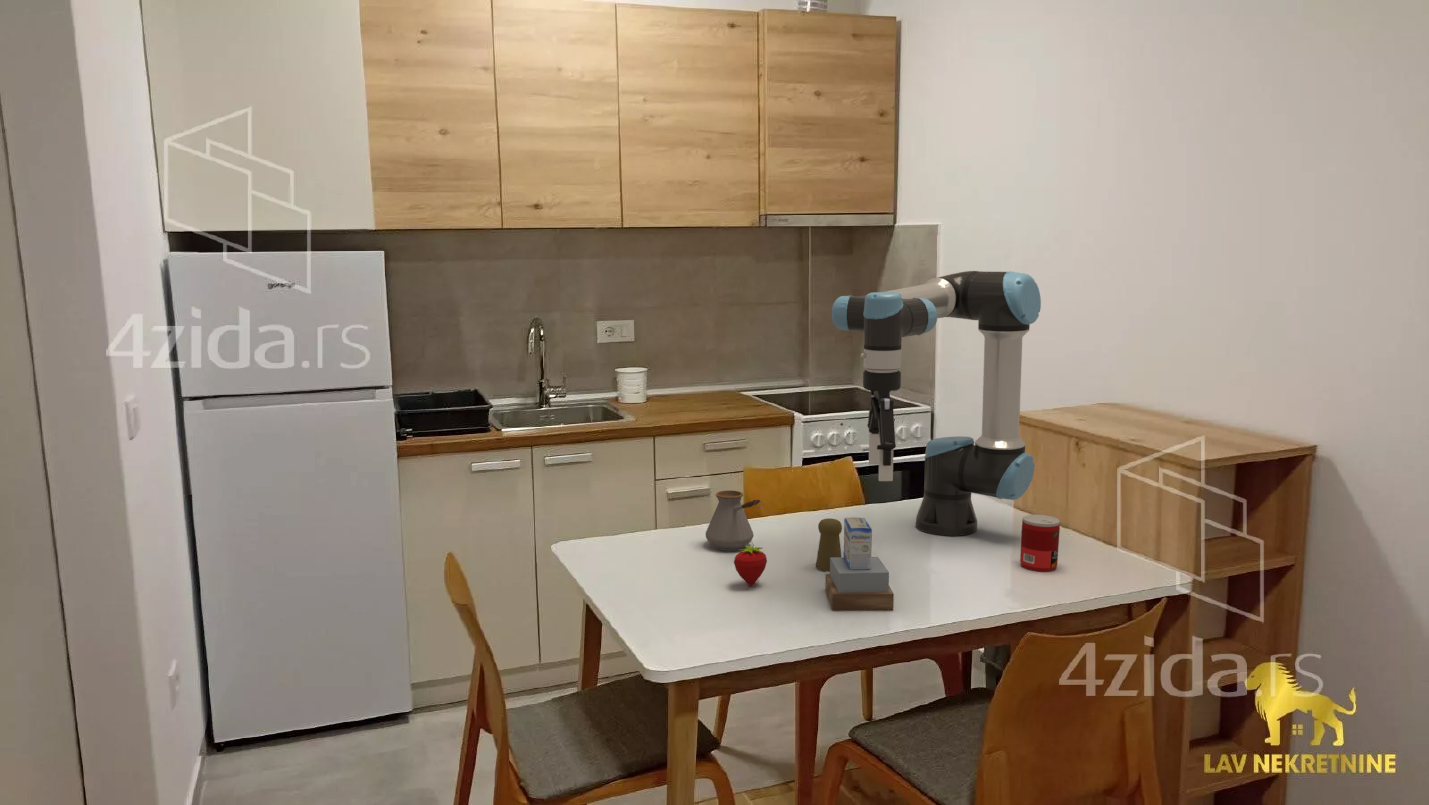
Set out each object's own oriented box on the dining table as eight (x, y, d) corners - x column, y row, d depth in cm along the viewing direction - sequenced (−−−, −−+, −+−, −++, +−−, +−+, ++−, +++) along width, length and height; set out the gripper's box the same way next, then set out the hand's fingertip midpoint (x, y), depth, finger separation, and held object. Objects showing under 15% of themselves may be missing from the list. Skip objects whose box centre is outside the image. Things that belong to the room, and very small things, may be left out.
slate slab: (829, 576, 212) (830, 557, 211) (877, 575, 212) (877, 556, 212) (838, 592, 202) (839, 573, 201) (888, 591, 202) (889, 572, 202)
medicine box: (843, 557, 211) (843, 517, 209) (864, 557, 211) (865, 516, 210) (849, 570, 203) (850, 528, 202) (871, 569, 203) (872, 527, 202)
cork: (825, 573, 224) (826, 524, 222) (810, 565, 229) (811, 518, 227) (848, 569, 226) (849, 521, 224) (832, 561, 232) (833, 514, 230)
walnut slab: (825, 592, 213) (825, 574, 213) (882, 592, 214) (882, 574, 213) (832, 613, 202) (833, 594, 201) (893, 613, 202) (893, 594, 201)
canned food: (1059, 573, 224) (1062, 524, 222) (1021, 570, 226) (1024, 522, 224) (1054, 562, 231) (1057, 515, 230) (1018, 560, 233) (1020, 513, 231)
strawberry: (727, 585, 216) (727, 539, 214) (755, 578, 220) (756, 533, 219) (744, 593, 211) (744, 546, 210) (773, 586, 216) (773, 540, 214)
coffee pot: (697, 542, 246) (697, 481, 243) (740, 536, 250) (740, 477, 248) (736, 568, 227) (736, 503, 224) (781, 562, 231) (782, 497, 229)
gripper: (855, 361, 217) (854, 458, 221) (872, 379, 193) (870, 488, 197) (890, 360, 217) (888, 457, 221) (912, 379, 193) (909, 488, 197)
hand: (880, 472), depth 209 cm, fingers open, 13 cm apart
